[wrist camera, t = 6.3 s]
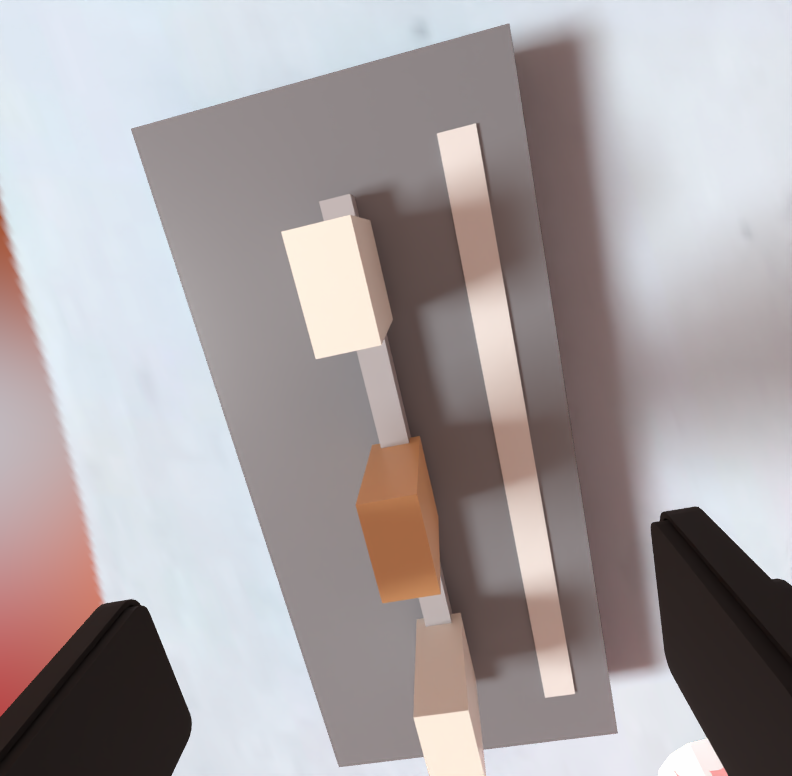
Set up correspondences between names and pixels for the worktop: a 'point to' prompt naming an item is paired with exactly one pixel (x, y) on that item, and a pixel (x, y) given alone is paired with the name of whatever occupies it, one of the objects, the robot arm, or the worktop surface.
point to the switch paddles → (391, 477)
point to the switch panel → (417, 377)
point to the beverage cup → (693, 761)
